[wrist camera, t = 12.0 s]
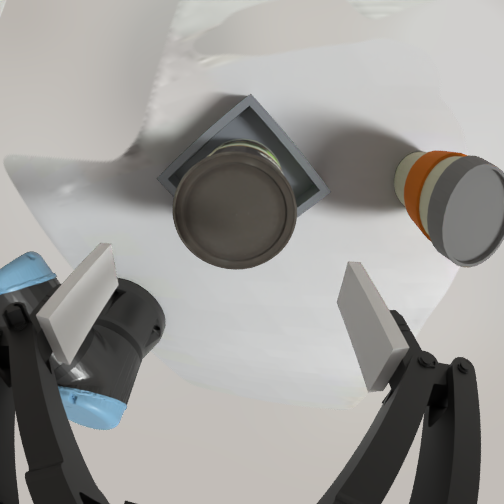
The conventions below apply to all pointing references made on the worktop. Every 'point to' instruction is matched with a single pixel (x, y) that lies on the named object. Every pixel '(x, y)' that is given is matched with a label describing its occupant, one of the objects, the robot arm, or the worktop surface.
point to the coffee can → (235, 206)
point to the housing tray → (263, 131)
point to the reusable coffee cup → (454, 203)
